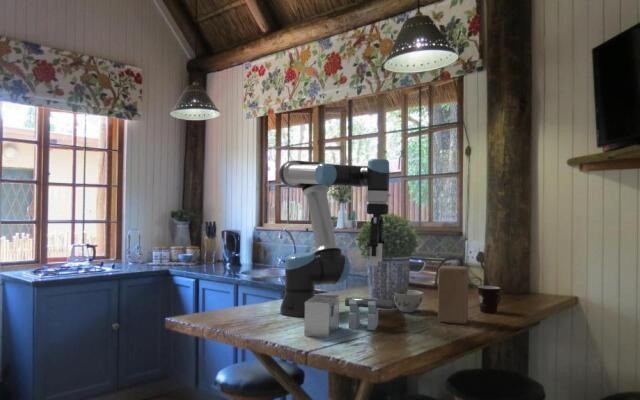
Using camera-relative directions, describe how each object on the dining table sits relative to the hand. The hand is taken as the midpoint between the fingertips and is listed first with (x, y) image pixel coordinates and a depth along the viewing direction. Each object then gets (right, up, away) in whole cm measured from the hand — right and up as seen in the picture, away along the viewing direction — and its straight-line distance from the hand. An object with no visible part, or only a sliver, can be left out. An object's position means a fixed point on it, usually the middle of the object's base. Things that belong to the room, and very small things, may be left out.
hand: (375, 263), depth 179 cm
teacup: (+17, -23, +29) cm, 41 cm away
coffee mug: (+49, -23, +27) cm, 60 cm away
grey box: (-19, -21, -9) cm, 30 cm away
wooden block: (+30, -23, +10) cm, 39 cm away
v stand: (-4, -22, -1) cm, 22 cm away
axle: (-3, -15, -1) cm, 15 cm away
